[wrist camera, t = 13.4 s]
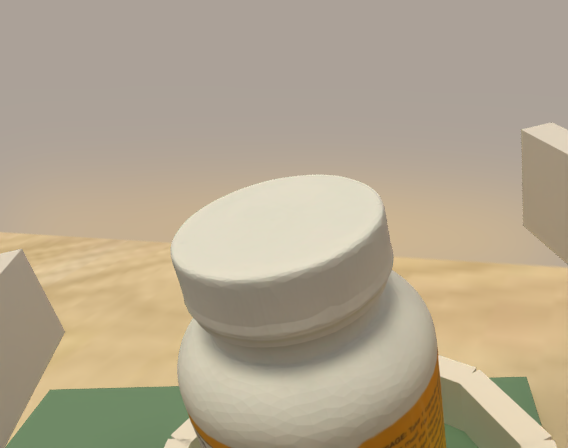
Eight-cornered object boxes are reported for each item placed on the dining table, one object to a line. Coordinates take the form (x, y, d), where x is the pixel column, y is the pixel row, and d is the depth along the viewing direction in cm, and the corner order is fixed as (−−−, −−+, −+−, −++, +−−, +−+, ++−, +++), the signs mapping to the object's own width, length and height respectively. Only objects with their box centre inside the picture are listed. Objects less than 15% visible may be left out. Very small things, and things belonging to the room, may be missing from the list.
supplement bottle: (255, 681, 11) (89, 342, 7) (251, 469, 16) (152, 195, 12) (497, 630, 11) (476, 256, 7) (419, 432, 16) (378, 142, 12)
